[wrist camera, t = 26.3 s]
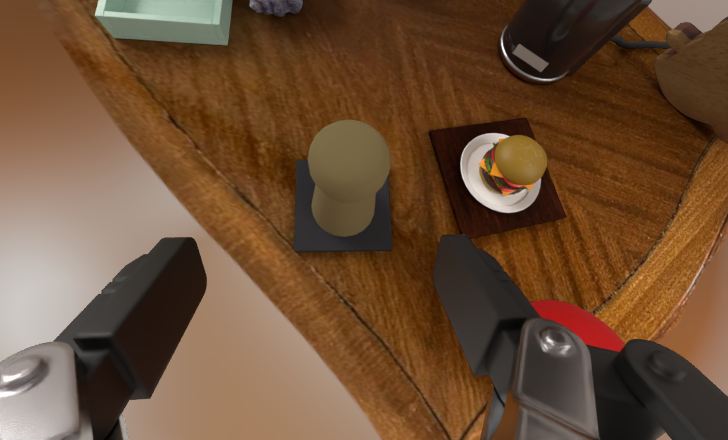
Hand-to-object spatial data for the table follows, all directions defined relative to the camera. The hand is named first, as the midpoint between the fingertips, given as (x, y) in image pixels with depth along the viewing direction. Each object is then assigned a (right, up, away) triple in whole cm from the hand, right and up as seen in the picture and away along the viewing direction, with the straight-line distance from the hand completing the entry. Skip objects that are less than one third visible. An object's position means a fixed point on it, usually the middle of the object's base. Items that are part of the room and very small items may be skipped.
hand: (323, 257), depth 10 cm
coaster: (-1, +3, +18) cm, 18 cm away
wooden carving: (+42, +16, +27) cm, 52 cm away
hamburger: (+15, +6, +21) cm, 27 cm away
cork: (-1, +3, +17) cm, 18 cm away
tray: (-19, +26, +22) cm, 39 cm away
